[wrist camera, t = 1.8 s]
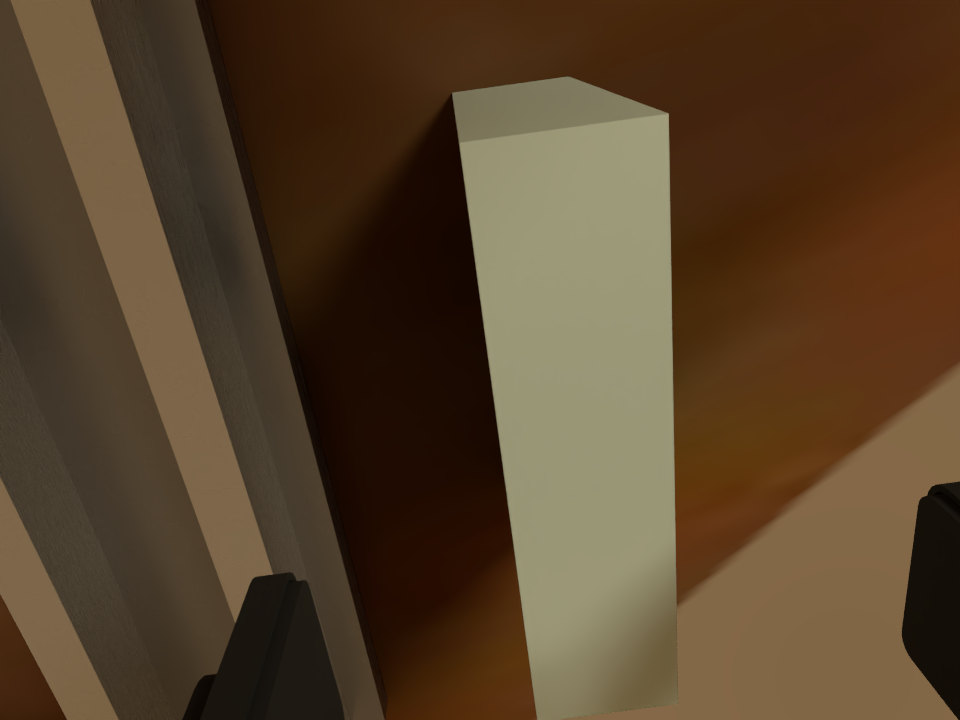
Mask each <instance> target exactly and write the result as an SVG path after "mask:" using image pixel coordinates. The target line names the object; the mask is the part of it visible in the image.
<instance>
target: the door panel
mask: <svg viewBox="0 0 960 720" xmlns="http://www.w3.org/2000/svg"><path fill="white" fill-rule="evenodd" d="M452 97H453V104H454V111H455V119H456V126H457V133H458V141H459V148H460V156H461V163H462V170H463V178H464V185H465V192H466V200H467V207H468V215H469V222H470V229H471V237H472V244H473V251H474V259H475V266H476V274H477V281H478V288H479V296H480V303H481V310H482V318H483V325H484V333H485V340H486V347H487V355H488V362H489V369H490V377H491V384H492V392H493V399H494V406H495V414H496V421H497V428H498V436H499V443H500V451H501V458H502V465H503V473H504V480H505V487H506V495H507V502H508V509H509V517H510V524H511V531H512V538H513V546H514V553H515V560H516V568H517V575H518V582H519V589H520V597H521V604H522V611H523V619H524V626H525V633H526V640H527V648H528V655H529V662H530V670H531V677H532V684H533V691H534V699H535V706H536V713H537V720H558V719H566V718H573V717H581V716H589V715H596V714H604V713H612V712H619V711H627V710H635V709H642V708H650V707H657V706H665V705H673V704H678V671H677V608H676V546H675V483H674V421H673V359H672V297H671V235H670V173H669V114H668V113H665V112H663V111H660V110H657V109H655V108H652V107H649V106H646V105H644V104H641V103H638V102H636V101H633V100H630V99H628V98H625V97H622V96H619V95H617V94H614V93H611V92H609V91H606V90H603V89H601V88H598V87H595V86H592V85H590V84H587V83H584V82H582V81H579V80H576V79H574V78H571V77H562V78H555V79H548V80H541V81H534V82H527V83H519V84H512V85H505V86H498V87H491V88H484V89H477V90H469V91H462V92H455V93H452Z"/></svg>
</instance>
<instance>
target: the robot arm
mask: <svg viewBox="0 0 960 720" xmlns="http://www.w3.org/2000/svg"><path fill="white" fill-rule="evenodd" d="M902 639H903V643H904V646H905V649H906V651H907V653H908V655H909V656H910V658H911V659H912V661H913V662H914V663H915V664H916V666H917V667H918V668H919V670H920V671H921V672H922V673H923V675H924V676H925V677H926V678H927V680H928V681H929V682H930V684H931V685H932V686H933V688H934V689H935V690H936V691H937V693H938V694H939V695H940V697H941V698H942V699H943V700H944V701H945V703H946V704H947V706H948V707H949V708H950V709H951V710H952V712H953V713H954V715H955V716H956V717H957V718H958V720H960V482H954V483H946V484H939V485H935V486H932V487H931V489H930V490H929V492H928V495H927V496H925V497H922V498H921V499H920V501H919V505H918V511H917V519H916V527H915V534H914V542H913V549H912V557H911V565H910V573H909V580H908V588H907V595H906V603H905V610H904V619H903V626H902ZM182 720H344V710H343V705H342V701H341V698H340V694H339V691H338V687H337V684H336V680H335V676H334V673H333V669H332V666H331V662H330V659H329V655H328V651H327V648H326V644H325V641H324V637H323V633H322V630H321V626H320V623H319V619H318V616H317V612H316V608H315V605H314V601H313V598H312V594H311V590H310V587H309V584H308V582H307V581H306V580H301V581H297V580H296V577H295V576H294V574H293V573H291V572H287V573H280V574H273V575H265V576H258V577H255V578H253V579H252V581H251V583H250V585H249V588H248V591H247V593H246V596H245V599H244V601H243V604H242V607H241V609H240V612H239V615H238V618H237V620H236V623H235V626H234V628H233V631H232V634H231V637H230V639H229V642H228V645H227V647H226V650H225V653H224V655H223V658H222V661H221V664H220V666H219V669H218V672H217V674H212V675H204V676H203V677H202V678H201V679H200V680H199V681H198V683H197V685H196V687H195V689H194V691H193V694H192V696H191V699H190V701H189V704H188V706H187V709H186V711H185V714H184V716H183V719H182Z"/></svg>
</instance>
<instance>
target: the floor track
mask: <svg viewBox="0 0 960 720" xmlns="http://www.w3.org/2000/svg"><path fill="white" fill-rule="evenodd" d="M287 572H291V573H293V574H294V576H295V577H296V580H297V581H301V580H306V581H307V582H308V584H309V587H310V590H311V594H312V598H313V601H314V605H315V608H316V612H317V616H318V619H319V623H320V626H321V630H322V633H323V637H324V641H325V644H326V648H327V651H328V655H329V659H330V662H331V666H332V669H333V673H334V676H335V680H336V684H337V687H338V691H339V694H340V698H341V701H342V705H343V710H344V720H386V709H387V696H386V693H385V689H384V685H383V681H382V677H381V673H380V669H379V665H378V661H377V658H376V654H375V650H374V646H373V642H372V638H371V634H370V630H369V626H368V623H367V619H366V615H365V611H364V607H363V603H362V599H361V595H360V591H359V588H358V584H357V580H356V576H355V572H354V568H353V564H352V560H351V556H350V553H349V549H348V545H347V541H346V537H345V533H344V529H343V525H342V522H341V518H340V514H339V510H338V506H337V502H336V498H335V494H334V490H333V487H332V483H331V479H330V475H329V471H328V467H327V463H326V459H325V455H324V452H323V448H322V444H321V440H320V436H319V432H318V428H317V424H316V420H315V417H314V413H313V409H312V405H311V401H310V397H309V393H308V389H307V385H306V382H305V378H304V374H303V370H302V366H301V362H300V358H299V354H298V350H297V347H296V343H295V339H294V335H293V331H292V327H291V323H290V319H289V316H288V312H287V308H286V304H285V300H284V296H283V292H282V288H281V284H280V281H279V277H278V273H277V269H276V265H275V261H274V257H273V253H272V249H271V246H270V242H269V238H268V234H267V230H266V226H265V222H264V218H263V214H262V211H261V207H260V203H259V199H258V195H257V191H256V187H255V183H254V179H253V176H252V172H251V168H250V164H249V160H248V156H247V152H246V148H245V144H244V141H243V137H242V133H241V129H240V125H239V121H238V117H237V113H236V110H235V106H234V102H233V98H232V94H231V90H230V86H229V82H228V78H227V75H226V71H225V67H224V63H223V59H222V55H221V51H220V47H219V43H218V40H217V36H216V32H215V28H214V24H213V20H212V16H211V12H210V8H209V5H208V1H207V0H0V594H1V596H2V598H3V600H4V602H5V604H6V605H7V607H8V609H9V611H10V613H11V615H12V617H13V619H14V620H15V622H16V624H17V626H18V628H19V630H20V632H21V634H22V636H23V637H24V639H25V641H26V643H27V645H28V647H29V649H30V651H31V652H32V654H33V656H34V658H35V660H36V662H37V664H38V666H39V668H40V669H41V671H42V673H43V675H44V677H45V679H46V681H47V683H48V684H49V686H50V688H51V690H52V692H53V694H54V696H55V698H56V700H57V701H58V703H59V705H60V707H61V709H62V711H63V713H64V715H65V716H66V718H67V720H182V719H183V716H184V714H185V711H186V709H187V706H188V704H189V701H190V699H191V696H192V694H193V691H194V689H195V687H196V685H197V683H198V681H199V680H200V679H201V678H202V677H203V676H204V675H212V674H217V672H218V669H219V666H220V664H221V661H222V658H223V655H224V653H225V650H226V647H227V645H228V642H229V639H230V637H231V634H232V631H233V628H234V626H235V623H236V620H237V618H238V615H239V612H240V609H241V607H242V604H243V601H244V599H245V596H246V593H247V591H248V588H249V585H250V583H251V581H252V579H253V578H255V577H258V576H265V575H273V574H280V573H287Z"/></svg>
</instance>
